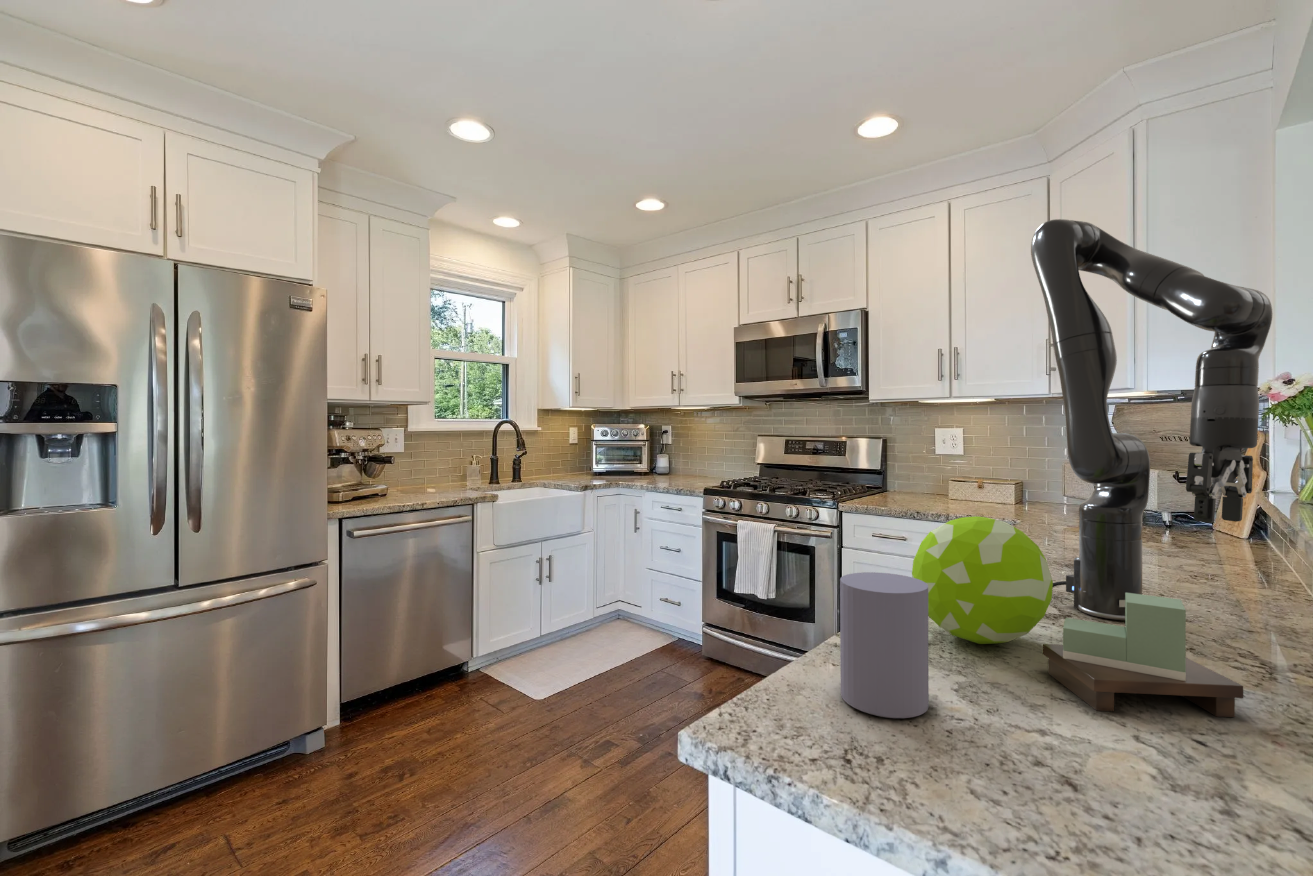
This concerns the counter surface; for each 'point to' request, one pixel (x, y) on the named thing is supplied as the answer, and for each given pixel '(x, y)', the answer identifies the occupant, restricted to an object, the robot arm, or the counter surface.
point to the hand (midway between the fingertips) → (1217, 521)
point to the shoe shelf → (1142, 683)
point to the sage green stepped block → (1134, 638)
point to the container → (884, 644)
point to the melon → (983, 579)
